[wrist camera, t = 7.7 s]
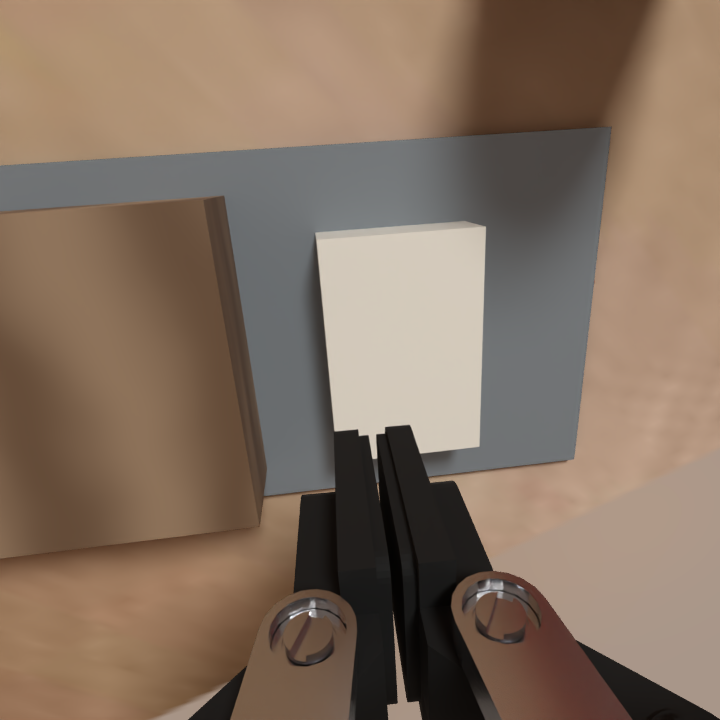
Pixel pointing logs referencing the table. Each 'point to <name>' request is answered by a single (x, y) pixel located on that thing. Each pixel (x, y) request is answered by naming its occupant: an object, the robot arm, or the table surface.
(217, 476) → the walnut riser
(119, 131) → the table surface
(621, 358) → the table surface
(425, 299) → the cream tile
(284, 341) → the rubber mat
